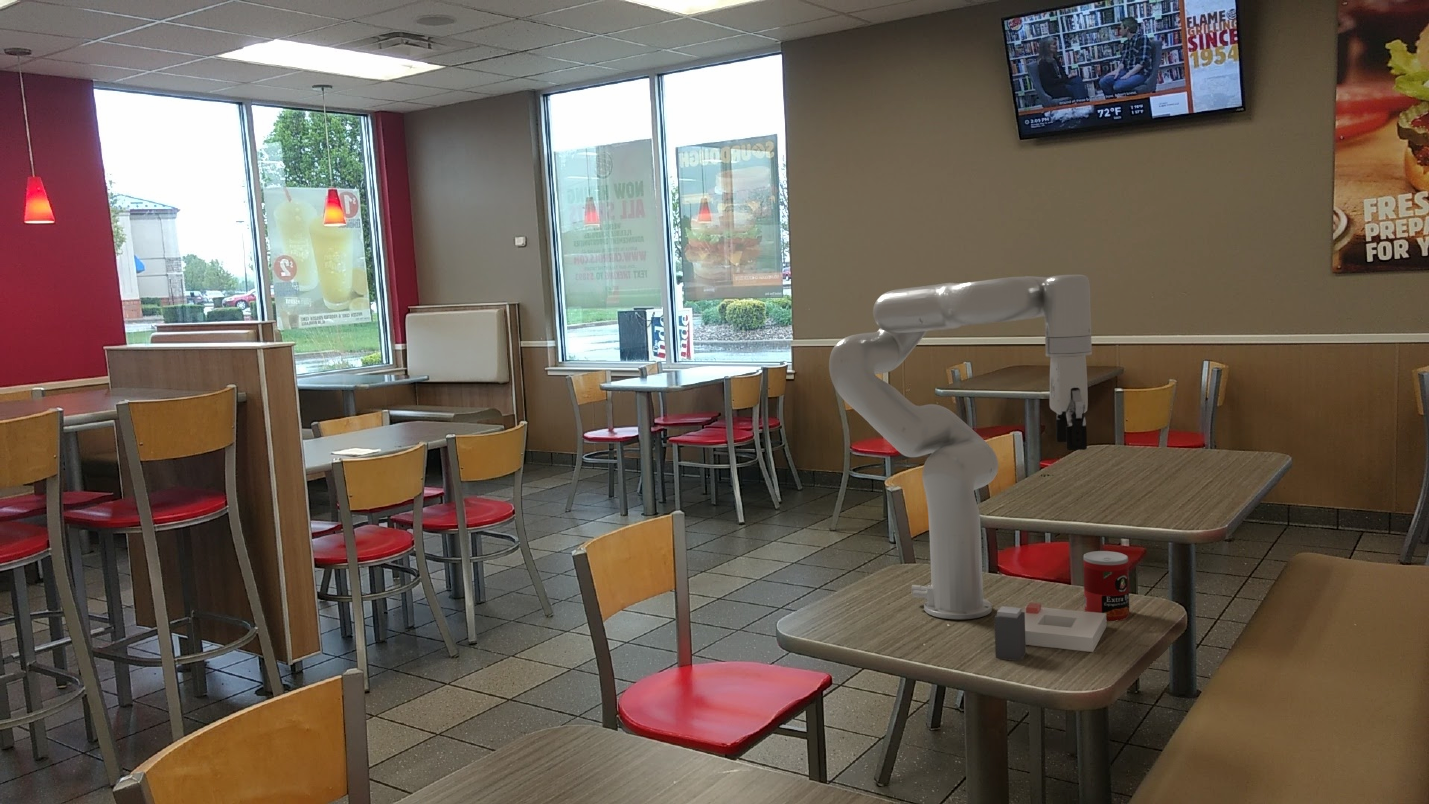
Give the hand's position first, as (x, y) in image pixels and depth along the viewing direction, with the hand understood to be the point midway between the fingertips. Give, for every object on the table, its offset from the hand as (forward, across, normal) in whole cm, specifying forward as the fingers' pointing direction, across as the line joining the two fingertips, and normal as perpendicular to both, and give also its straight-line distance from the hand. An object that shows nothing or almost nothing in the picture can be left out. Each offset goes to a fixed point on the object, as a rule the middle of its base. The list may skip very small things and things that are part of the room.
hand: (1071, 445), depth 180 cm
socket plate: (+33, +2, -4) cm, 33 cm away
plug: (+33, +13, -13) cm, 38 cm away
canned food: (+33, -8, +7) cm, 35 cm away
